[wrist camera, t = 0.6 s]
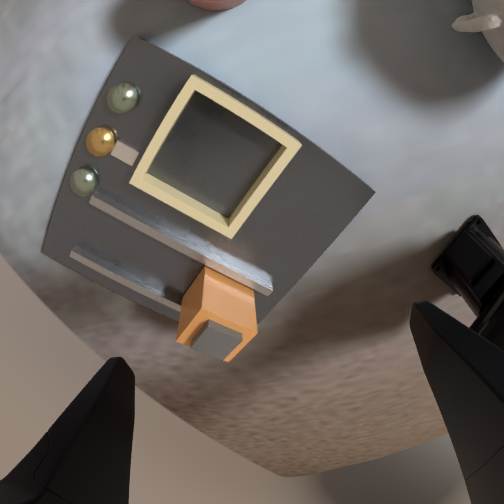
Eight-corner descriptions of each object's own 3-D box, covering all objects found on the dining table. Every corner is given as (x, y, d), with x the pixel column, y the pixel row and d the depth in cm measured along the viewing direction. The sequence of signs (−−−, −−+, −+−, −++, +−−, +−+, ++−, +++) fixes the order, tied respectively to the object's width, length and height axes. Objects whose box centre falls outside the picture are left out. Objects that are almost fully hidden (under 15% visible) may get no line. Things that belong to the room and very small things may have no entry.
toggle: (253, 288, 24) (258, 339, 20) (228, 317, 25) (228, 368, 21) (205, 264, 23) (201, 315, 18) (182, 296, 24) (174, 348, 20)
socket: (297, 140, 18) (302, 145, 17) (231, 230, 21) (231, 239, 20) (193, 74, 16) (191, 74, 15) (134, 176, 19) (128, 182, 18)
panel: (371, 187, 21) (380, 197, 20) (235, 339, 28) (236, 353, 27) (137, 36, 15) (129, 34, 14) (46, 247, 22) (37, 258, 21)
